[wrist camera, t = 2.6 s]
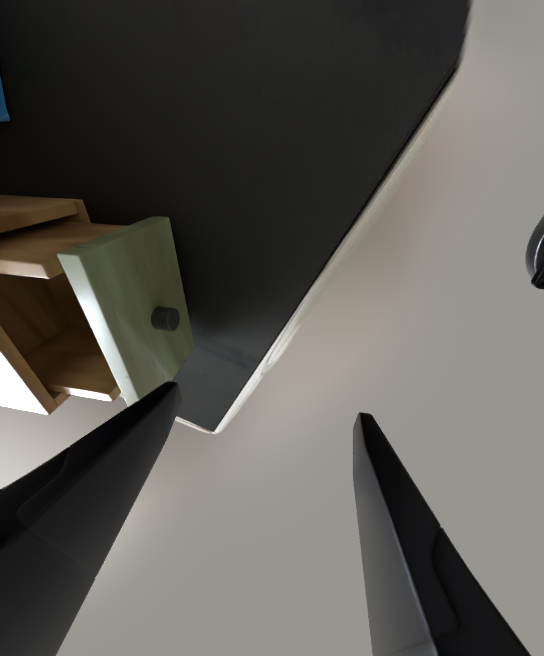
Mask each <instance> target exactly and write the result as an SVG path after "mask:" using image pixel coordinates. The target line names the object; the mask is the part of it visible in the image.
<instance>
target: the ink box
mask: <svg viewBox="0 0 544 656" xmlns="http://www.w3.org/2000/svg"><path fill="white" fill-rule="evenodd" d="M7 121H10V118H9V115H8V112H7V109H6V104H5V98H4V93H3V88H2V82H1V76H0V122H7Z"/></svg>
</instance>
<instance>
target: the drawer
mask: <svg viewBox="0 0 544 656" xmlns="http://www.w3.org/2000/svg"><path fill="white" fill-rule="evenodd" d="M0 325H1V327H2V328H3V330H4V331H5V332H6V334H7V335H8V337H9V338H10V339H11V341H12V342H13V344H14V345H15V346H16V348H17V349H18V351H19V352H20V353H21V355H22V356H23V358H24V359H25V360H26V362H27V363H28V365H29V366H30V368H31V369H32V370H33V372H34V373H35V375H36V376H37V377H38V379H39V380H40V382H41V383H42V384H43V386H44V387H45V389H46V390H50V391H55V392H61V393H66V394H72V395H77V396H83V397H88V398H94V399H100V400H105V401H111V402H113V401H114V400H115V399H116V398H117V397H118V395H119V394H120V393H121V392H122V395H123V397H124V399H125V401H126V403H127V405H128V407H129V406H130V405H132V404H133V403H135V402H136V401H138V400H139V399H141V398H142V397H144V396H145V395H147V394H148V393H150V392H151V391H153V390H154V389H156V388H157V387H159V386H160V385H162V384H163V383H165V382H167V381H171V380H172V379H173V377H174V376H175V375H176V373H177V372H178V370H179V369H180V367H181V366H182V364H183V363H184V361H185V360H186V359H187V357H188V356H189V354H190V353H191V351H192V350H193V348H194V341H193V336H192V331H191V326H190V321H189V316H188V311H187V306H186V301H185V296H184V291H183V286H182V281H181V276H180V271H179V265H178V260H177V255H176V250H175V245H174V240H173V235H172V230H171V225H170V220H169V217H160V216H152V217H150V218H147V219H145V220H142V221H139V222H137V223H134V224H132V225H129V226H122V225H108V224H95V223H81V222H67V221H54V220H50V221H46V222H42V223H38V224H34V225H31V226H27V227H23V228H19V229H15V230H11V231H7V232H3V233H0Z"/></svg>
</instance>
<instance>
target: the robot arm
mask: <svg viewBox="0 0 544 656" xmlns="http://www.w3.org/2000/svg"><path fill="white" fill-rule="evenodd" d="M542 279H544V261H543V262H542V264H541V265H540V267H539V268H538V270H537V272H536V273H535V275H534V276H533V278H532V280H531V284H532V285H534V286H535V287H536V288H539V289H544V281H543V282H541V280H542ZM540 282H541V283H540ZM181 401H182V395H181V391H180V388H179V384H178V383H177V382H171V381H167V382H165V383H163V384H162V385H160V386H159V387H157V388H156V389H154V390H153V391H151V392H150V393H148V394H147V395H145V396H144V397H142V398H141V399H139V400H138V401H136V402H135V403H133V404H132V405H130V406H129V407H127V408H126V409H124V410H123V411H121V412H120V413H118V414H117V415H115V416H114V417H112V418H111V419H109V420H108V421H106V422H105V423H103V424H102V425H100V426H99V427H97V428H96V429H95V430H93V431H92V432H90V433H89V434H87V435H86V436H84V437H82V438H81V439H80V440H78V441H76V442H75V443H74V444H72V445H71V446H70V447H68V448H66V449H65V450H63V451H61V452H60V453H59V454H57V455H56V456H54V457H52V458H51V459H49V460H48V461H46V462H45V463H43V464H42V465H40V466H38V467H37V468H35V469H34V470H32V471H30V472H29V473H27V474H25V475H24V476H22V477H20V478H19V479H18V480H16V481H14V482H12V483H10V484H9V485H7V486H5V487H4V488H2V489H0V656H56V654H57V652H58V650H59V648H60V646H61V645H62V643H63V641H64V639H65V637H66V635H67V633H68V631H69V629H70V627H71V625H72V623H73V621H74V619H75V617H76V615H77V613H78V611H79V609H80V607H81V606H82V604H83V602H84V600H85V598H86V596H87V594H88V592H89V590H90V588H91V586H92V584H93V582H94V580H95V577H96V576H97V574H98V572H99V570H100V568H101V567H102V565H103V563H104V561H105V558H106V557H107V555H108V553H109V551H110V549H111V547H112V545H113V543H114V541H115V539H116V537H117V535H118V533H119V532H120V529H121V528H122V526H123V524H124V522H125V520H126V518H127V516H128V514H129V512H130V510H131V508H132V506H133V504H134V502H135V500H136V499H137V497H138V494H139V493H140V491H141V489H142V487H143V485H144V483H145V481H146V479H147V477H148V475H149V473H150V471H151V469H152V467H153V465H154V463H155V462H156V460H157V458H158V456H159V454H160V452H161V450H162V448H163V446H164V444H165V442H166V440H167V437H168V435H169V433H170V430H171V428H172V425H173V422H174V420H175V417H176V415H177V412H178V410H179V407H180V404H181ZM353 480H354V490H355V499H356V508H357V517H358V526H359V535H360V544H361V553H362V563H363V571H364V580H365V589H366V598H367V608H368V617H369V625H370V635H371V644H372V653H373V656H531V655H530V653H529V652H528V651H527V649H526V648H525V646H524V645H523V644H522V642H521V641H520V640H519V638H518V637H517V635H516V634H515V633H514V631H513V630H512V629H511V627H510V626H509V624H508V623H507V622H506V621H505V619H504V618H503V616H502V615H501V613H500V612H499V611H498V609H497V608H496V607H495V605H494V604H493V602H492V601H491V600H490V598H489V597H488V595H487V594H486V593H485V591H484V590H483V589H482V587H481V586H480V584H479V583H478V581H477V580H476V579H475V577H474V576H473V574H472V573H471V571H470V570H469V569H468V567H467V565H466V564H465V562H464V561H463V559H462V558H461V556H460V555H459V553H458V552H457V550H456V549H455V547H454V545H453V544H452V542H451V541H450V539H449V537H448V536H447V534H446V533H445V531H444V529H443V528H441V527H440V523H439V522H438V520H437V518H436V517H435V515H434V514H433V512H432V511H431V509H430V507H429V506H428V504H427V502H426V501H425V499H424V498H423V496H422V494H421V493H420V491H419V490H418V488H417V486H416V485H415V483H414V482H413V480H412V478H411V477H410V475H409V474H408V472H407V470H406V469H405V467H404V466H403V464H402V462H401V461H400V459H399V458H398V456H397V454H396V453H395V451H394V450H393V448H392V446H391V445H390V443H389V442H388V440H387V438H386V437H385V435H384V434H383V432H382V431H381V429H380V427H379V426H378V424H377V422H376V421H375V419H374V418H373V416H372V415H371V414H368V413H359V414H358V416H357V419H356V422H355V425H354V429H353Z"/></svg>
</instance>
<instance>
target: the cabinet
mask: <svg viewBox="0 0 544 656" xmlns="http://www.w3.org/2000/svg"><path fill="white" fill-rule="evenodd" d="M50 220H54V221H67V222H81V223H91V222H90V219H89V216H88V213H87V211H86V208H85V205H84V202H83V200H79V199H63V198H46V197H29V196H12V195H0V233H3V232H7V231H11V230H15V229H19V228H23V227H27V226H31V225H34V224H38V223H42V222H46V221H50ZM70 395H72V394H66V393H61V392H55V391H50V390H46V389H45V387H44V386H43V384H42V383H41V382H40V380H39V379H38V377H37V376H36V375H35V373H34V372H33V370H32V369H31V368H30V366H29V365H28V363H27V362H26V360H25V359H24V358H23V356H22V355H21V353H20V352H19V351H18V349H17V348H16V346H15V345H14V344H13V342H12V341H11V339H10V338H9V337H8V335H7V334H6V332H5V331H4V330H3V328H2V327H1V325H0V405H1V406H6V407H11V408H17V409H22V410H27V411H32V412H37V413H42V414H47V415H50V414H51V413H52V412H53V411H54V410H55V409H56V408H57V407H58V406H60V405H61V404H62V403H63V402H64V401H65V400H66V399H67V398H68V397H69V396H70Z"/></svg>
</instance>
